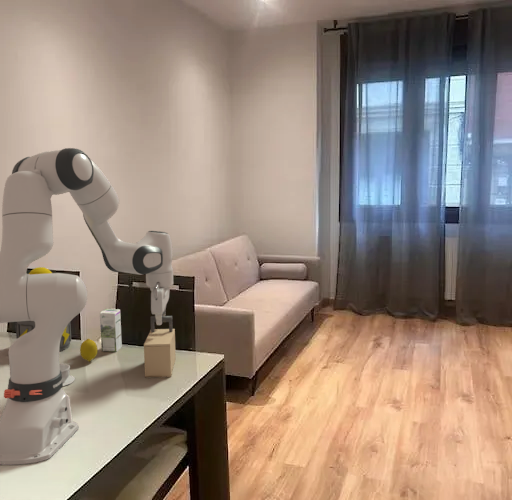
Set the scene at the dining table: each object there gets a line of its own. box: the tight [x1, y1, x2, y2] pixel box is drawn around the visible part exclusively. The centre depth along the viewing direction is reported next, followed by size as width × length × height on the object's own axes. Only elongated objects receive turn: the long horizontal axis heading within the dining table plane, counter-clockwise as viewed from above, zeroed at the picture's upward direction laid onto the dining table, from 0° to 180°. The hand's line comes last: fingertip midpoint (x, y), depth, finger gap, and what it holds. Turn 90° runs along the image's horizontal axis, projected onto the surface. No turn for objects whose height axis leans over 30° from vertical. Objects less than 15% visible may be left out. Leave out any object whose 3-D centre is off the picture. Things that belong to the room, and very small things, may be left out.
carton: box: [143, 331, 176, 379], centre depth 166 cm, size 16×8×10 cm, turn 4°
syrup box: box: [99, 308, 123, 353], centre depth 185 cm, size 6×6×14 cm
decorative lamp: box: [14, 266, 72, 353], centre depth 186 cm, size 19×19×30 cm
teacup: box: [59, 363, 76, 387], centre depth 156 cm, size 10×10×5 cm
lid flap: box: [143, 315, 176, 347], centre depth 165 cm, size 16×8×6 cm, turn 4°
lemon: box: [79, 338, 98, 362], centre depth 173 cm, size 6×6×8 cm
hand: (161, 320), depth 170 cm, fingers open, 8 cm apart
